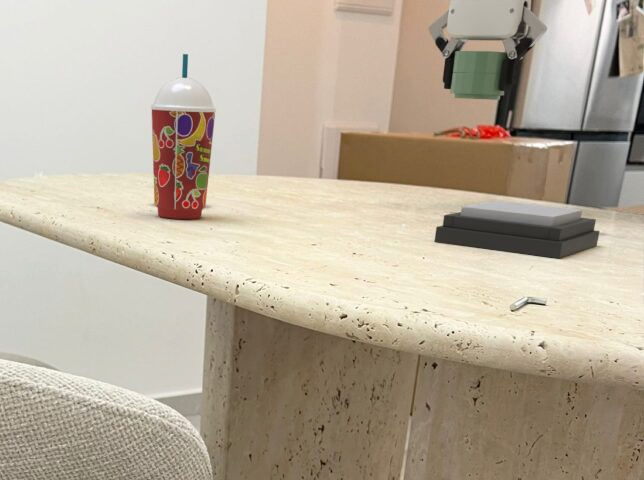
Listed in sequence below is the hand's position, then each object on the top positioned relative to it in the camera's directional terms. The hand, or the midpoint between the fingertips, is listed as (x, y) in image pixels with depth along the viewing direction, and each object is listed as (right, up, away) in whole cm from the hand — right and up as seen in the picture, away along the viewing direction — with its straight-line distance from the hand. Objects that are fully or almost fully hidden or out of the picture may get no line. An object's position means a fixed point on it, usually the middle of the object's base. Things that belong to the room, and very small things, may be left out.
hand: (477, 89), depth 131 cm
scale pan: (0, -22, -16) cm, 28 cm away
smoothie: (-41, -19, -5) cm, 46 cm away
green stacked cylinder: (0, -1, +1) cm, 1 cm away
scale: (0, -25, -15) cm, 29 cm away
